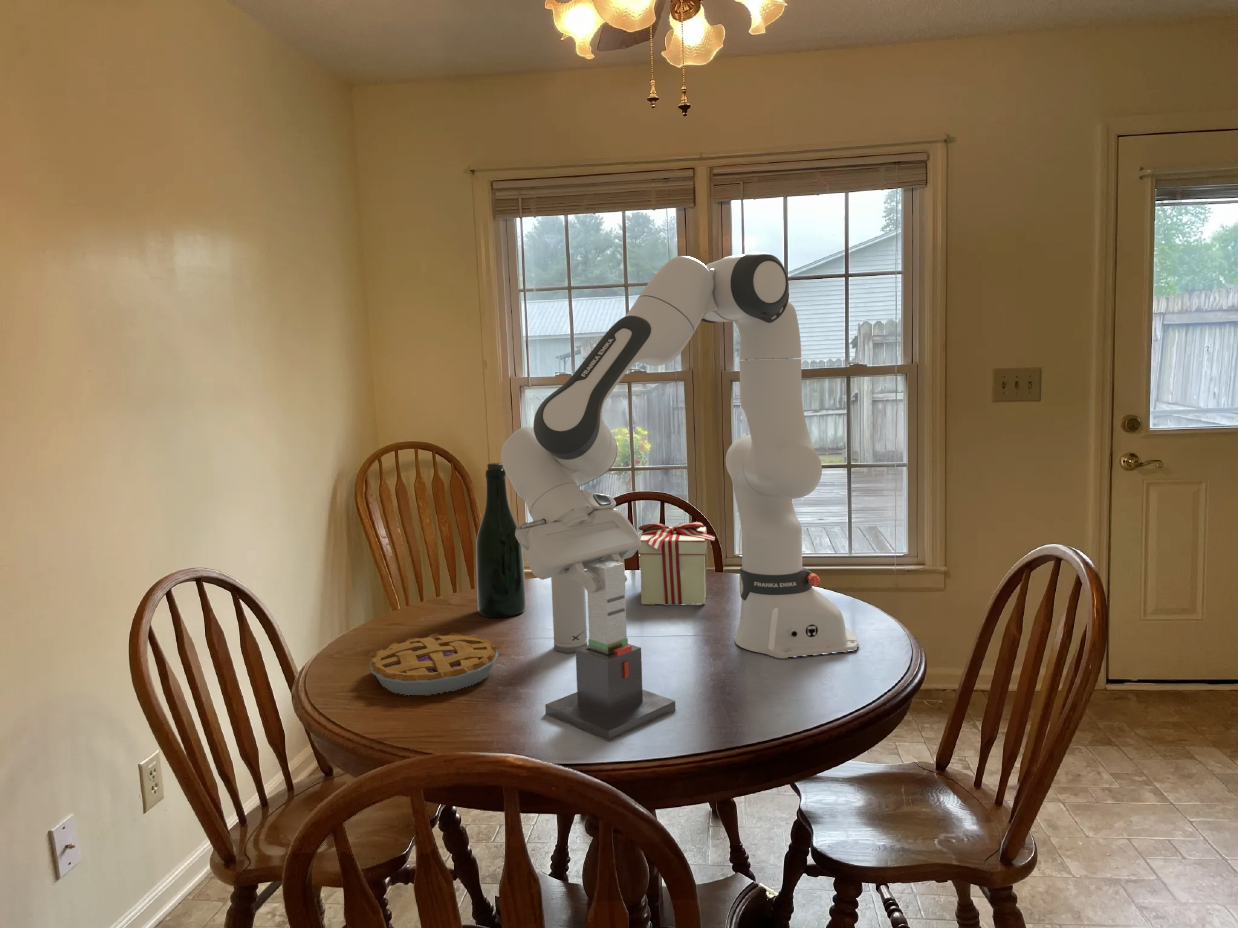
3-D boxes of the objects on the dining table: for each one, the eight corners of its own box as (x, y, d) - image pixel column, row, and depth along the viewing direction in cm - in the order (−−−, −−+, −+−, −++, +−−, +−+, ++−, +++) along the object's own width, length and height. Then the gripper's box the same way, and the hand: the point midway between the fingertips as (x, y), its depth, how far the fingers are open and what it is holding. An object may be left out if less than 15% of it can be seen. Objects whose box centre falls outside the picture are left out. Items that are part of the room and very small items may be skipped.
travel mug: (584, 653, 150) (580, 547, 148) (550, 652, 151) (545, 547, 149) (592, 642, 156) (588, 540, 154) (559, 641, 157) (555, 540, 155)
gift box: (640, 610, 176) (637, 532, 174) (640, 588, 195) (638, 517, 193) (718, 609, 176) (717, 530, 174) (712, 586, 194) (710, 515, 192)
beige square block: (609, 669, 126) (605, 559, 124) (629, 675, 123) (625, 563, 121) (589, 676, 123) (585, 564, 121) (609, 683, 120) (605, 568, 118)
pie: (357, 670, 146) (355, 643, 145) (473, 646, 157) (471, 621, 156) (389, 711, 127) (387, 680, 127) (518, 681, 138) (517, 652, 138)
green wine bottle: (525, 603, 185) (518, 459, 181) (527, 616, 174) (520, 464, 171) (478, 607, 183) (470, 461, 179) (478, 620, 173) (469, 466, 169)
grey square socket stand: (611, 687, 134) (609, 623, 132) (675, 710, 124) (673, 641, 122) (545, 713, 124) (542, 645, 123) (609, 741, 114) (606, 666, 113)
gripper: (518, 512, 118) (565, 589, 112) (619, 494, 132) (665, 562, 126) (502, 538, 122) (546, 614, 116) (601, 518, 136) (645, 585, 130)
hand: (609, 586), depth 121 cm, fingers closed on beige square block, 4 cm apart
